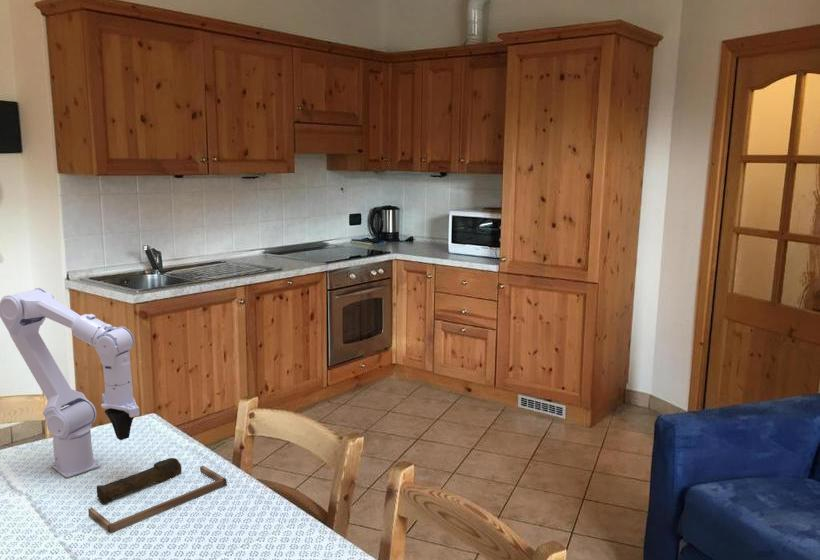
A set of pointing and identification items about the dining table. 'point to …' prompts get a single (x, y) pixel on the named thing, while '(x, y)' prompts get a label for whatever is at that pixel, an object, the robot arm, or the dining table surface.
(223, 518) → the dining table surface
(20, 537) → the dining table surface
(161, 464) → the hand tool
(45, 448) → the dining table surface
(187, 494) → the tool bay
